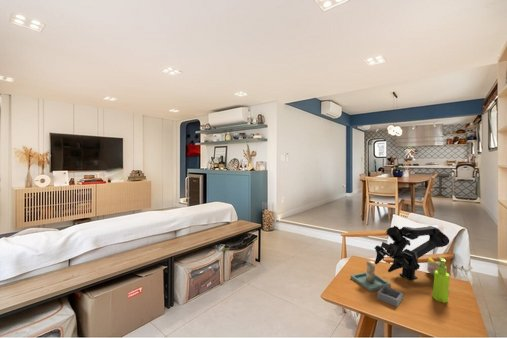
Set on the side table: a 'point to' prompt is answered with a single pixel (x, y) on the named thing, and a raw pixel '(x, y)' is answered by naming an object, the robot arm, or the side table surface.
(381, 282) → the green-grey tray
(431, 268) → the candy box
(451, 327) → the side table surface
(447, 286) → the soap dispenser
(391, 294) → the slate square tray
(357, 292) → the side table surface
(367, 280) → the rounded wooden peg
